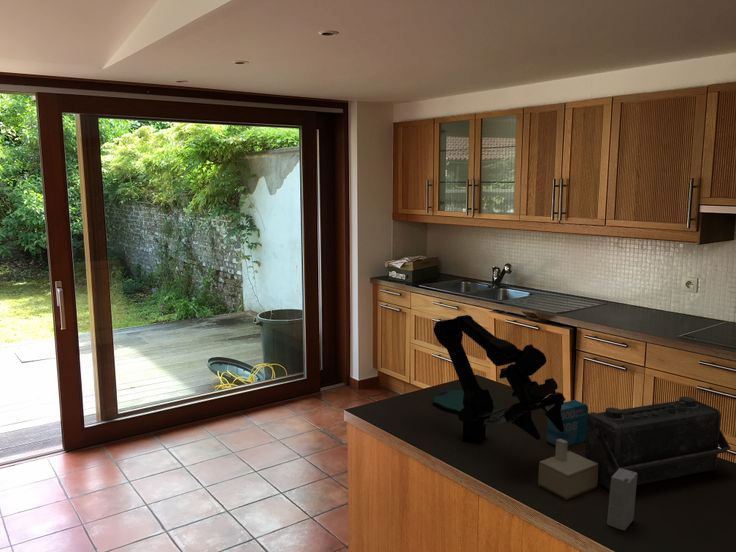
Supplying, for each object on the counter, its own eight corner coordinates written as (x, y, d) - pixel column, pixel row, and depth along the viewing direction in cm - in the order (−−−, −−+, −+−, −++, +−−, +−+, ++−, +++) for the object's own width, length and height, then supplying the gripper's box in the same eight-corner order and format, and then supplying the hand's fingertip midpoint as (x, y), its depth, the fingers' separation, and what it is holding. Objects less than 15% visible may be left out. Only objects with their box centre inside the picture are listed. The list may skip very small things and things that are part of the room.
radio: (685, 454, 178) (691, 388, 175) (729, 476, 165) (736, 405, 162) (578, 475, 166) (582, 404, 163) (616, 500, 152) (621, 424, 149)
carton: (538, 485, 160) (539, 464, 159) (568, 473, 166) (569, 453, 165) (566, 500, 152) (567, 478, 151) (597, 487, 159) (598, 466, 158)
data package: (556, 448, 182) (558, 410, 180) (546, 443, 186) (547, 405, 184) (586, 441, 187) (588, 403, 185) (575, 435, 191) (577, 399, 189)
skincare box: (615, 514, 146) (618, 466, 144) (634, 521, 143) (638, 472, 141) (605, 525, 141) (609, 475, 139) (626, 532, 138) (629, 482, 137)
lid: (539, 463, 159) (540, 443, 158) (569, 453, 165) (570, 433, 164) (567, 477, 151) (569, 456, 151) (597, 465, 158) (599, 445, 157)
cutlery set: (458, 391, 232) (458, 385, 231) (527, 414, 210) (527, 408, 210) (422, 404, 219) (423, 398, 218) (492, 431, 197) (492, 424, 196)
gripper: (513, 375, 159) (545, 429, 152) (561, 363, 169) (593, 414, 162) (491, 395, 167) (520, 448, 160) (538, 383, 177) (567, 433, 170)
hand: (551, 435), depth 162 cm, fingers open, 9 cm apart
